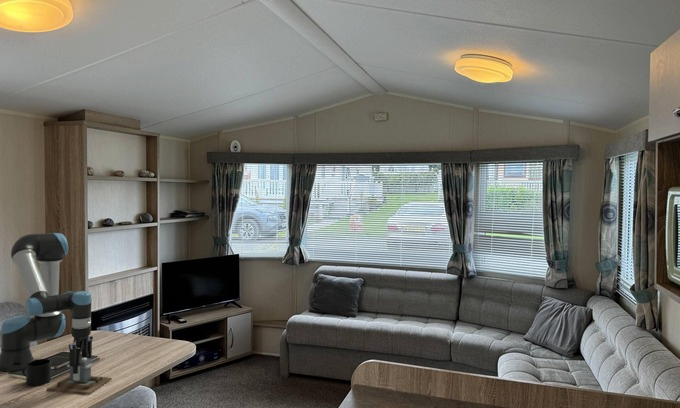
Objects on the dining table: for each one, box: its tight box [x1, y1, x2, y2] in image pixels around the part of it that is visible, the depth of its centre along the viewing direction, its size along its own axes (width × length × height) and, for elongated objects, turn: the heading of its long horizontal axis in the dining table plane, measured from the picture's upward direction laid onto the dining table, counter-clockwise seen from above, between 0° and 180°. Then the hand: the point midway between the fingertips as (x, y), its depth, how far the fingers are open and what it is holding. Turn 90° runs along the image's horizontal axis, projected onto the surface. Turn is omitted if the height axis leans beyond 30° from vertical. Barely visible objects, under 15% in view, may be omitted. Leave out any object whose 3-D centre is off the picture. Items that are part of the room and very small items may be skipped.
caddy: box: [46, 374, 112, 395], centre depth 213 cm, size 20×16×2 cm
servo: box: [66, 357, 95, 382], centre depth 213 cm, size 10×4×10 cm, turn 83°
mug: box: [21, 358, 52, 387], centre depth 215 cm, size 9×12×9 cm
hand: (80, 377), depth 213 cm, fingers closed on servo, 4 cm apart
